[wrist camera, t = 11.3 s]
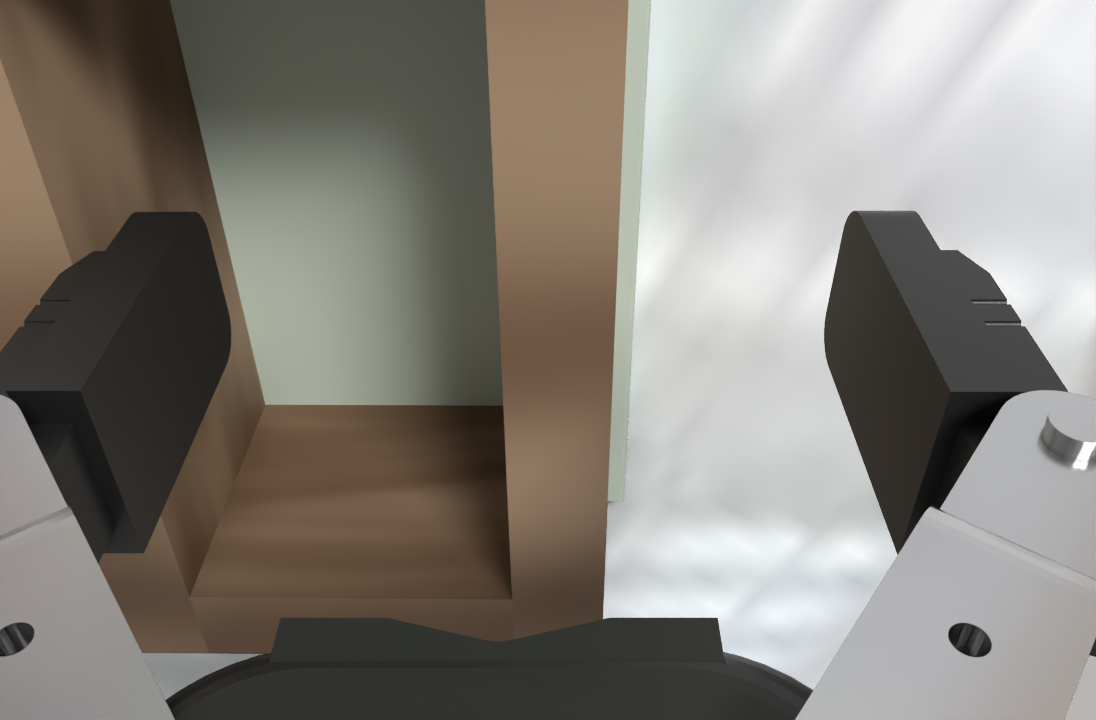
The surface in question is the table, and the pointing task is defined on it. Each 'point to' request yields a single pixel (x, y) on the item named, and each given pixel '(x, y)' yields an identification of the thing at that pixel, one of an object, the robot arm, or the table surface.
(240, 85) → the mat
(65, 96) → the brown wooden open box
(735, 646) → the table surface
